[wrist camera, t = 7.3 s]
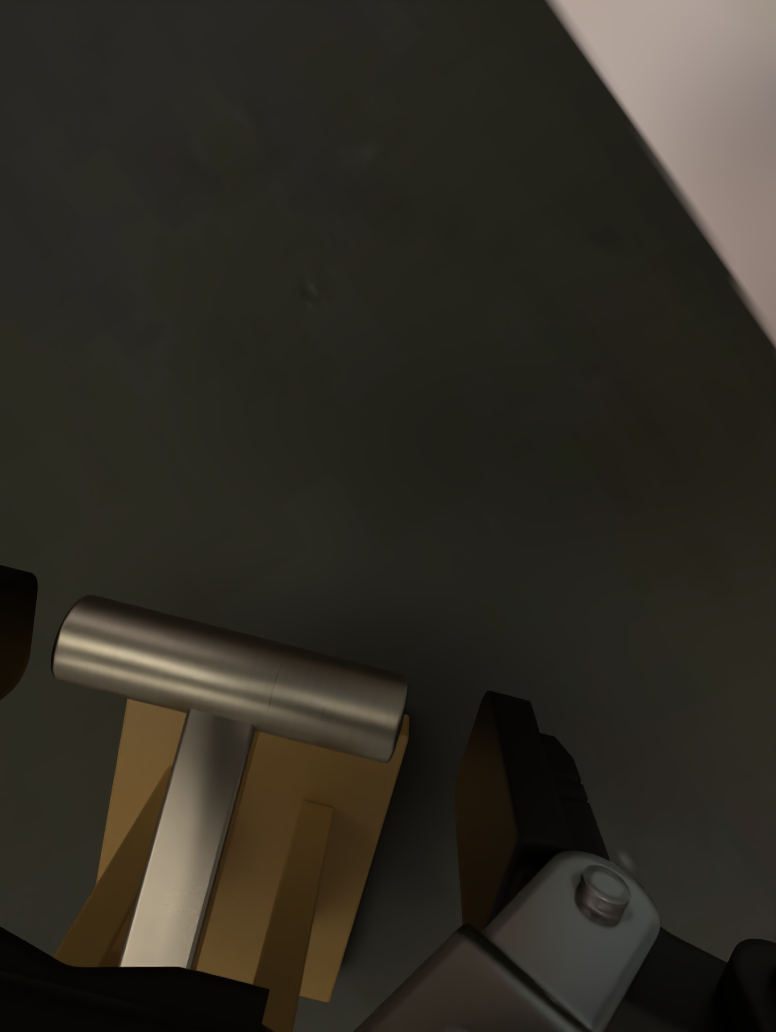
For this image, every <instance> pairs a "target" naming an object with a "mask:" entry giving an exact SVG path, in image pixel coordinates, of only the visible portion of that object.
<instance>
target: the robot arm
mask: <svg viewBox="0 0 776 1032" xmlns="http://www.w3.org/2000/svg"><path fill="white" fill-rule="evenodd" d="M37 590H38V583H37V579H36V576H35V575H34V574H33V573H30V572H26V571H22V570H18V569H14V568H10V567H6V566H2V565H0V700H1V699H2V698H4V697H5V696H6V695H7V694H8V693H10V692H11V691H12V690H13V689H14V688H15V686H16V685H17V684H18V682H19V681H20V679H21V678H22V676H23V674H24V672H25V669H26V667H27V664H28V661H29V657H30V650H31V642H32V633H33V625H34V616H35V608H36V599H37ZM587 799H588V798H587V795H586V792H585V790H584V787H583V785H582V784H581V779H580V776H579V773H578V770H577V767H576V765H575V762H574V759H573V758H572V756H571V755H570V754H569V753H568V752H567V751H566V749H565V748H564V747H563V746H562V745H561V744H560V742H559V741H558V740H557V739H556V738H555V737H554V736H550V735H546V734H542V733H540V732H539V728H538V725H537V721H536V718H535V715H534V711H533V708H532V705H531V702H530V701H528V700H524V699H520V698H516V697H512V696H509V695H505V694H501V693H497V692H493V691H487V692H486V693H485V695H484V696H483V699H482V701H481V704H480V707H479V710H478V713H477V716H476V719H475V722H474V725H473V728H472V731H471V734H470V738H469V741H468V744H467V747H466V750H465V753H464V756H463V759H462V762H461V765H460V769H459V773H458V777H457V783H456V790H455V815H456V830H457V845H458V860H459V875H460V890H461V905H462V919H463V925H462V926H461V927H460V928H458V929H457V930H456V931H455V932H454V933H453V934H452V935H451V936H450V937H449V938H448V939H447V940H446V941H445V942H444V943H443V944H442V945H441V946H440V947H439V948H438V949H437V950H436V951H435V952H434V953H433V954H431V955H430V956H429V957H428V958H427V959H426V960H425V961H424V962H423V963H422V964H421V965H420V966H419V967H418V968H417V969H416V970H415V971H414V972H413V973H412V974H411V975H410V976H409V977H408V978H407V979H406V980H405V981H404V982H403V983H402V984H401V985H400V986H399V987H398V988H397V989H396V990H395V991H394V992H393V993H392V994H391V995H390V996H389V997H388V998H387V999H386V1000H385V1001H384V1002H383V1003H382V1004H381V1005H380V1006H379V1007H378V1008H377V1009H376V1010H375V1011H374V1012H373V1013H372V1014H371V1015H370V1016H369V1017H368V1018H367V1019H366V1020H365V1021H364V1022H363V1023H362V1024H361V1025H360V1026H359V1027H358V1028H357V1029H356V1030H354V1031H353V1032H776V943H774V942H771V941H767V940H762V939H747V940H744V941H741V942H740V943H739V944H738V945H737V946H736V947H735V949H734V951H733V953H732V955H731V957H730V959H729V961H728V963H727V962H725V961H723V960H721V959H719V958H717V957H715V956H713V955H711V954H709V953H707V952H705V951H703V950H701V949H699V948H697V947H695V946H693V945H691V944H689V943H687V942H685V941H683V940H682V939H680V938H678V937H676V936H674V935H672V934H671V933H669V932H667V931H666V930H664V929H663V928H661V927H660V919H659V914H658V911H657V909H656V906H655V904H654V903H653V901H652V899H651V898H650V896H649V895H648V893H647V892H646V891H645V889H644V888H643V887H642V886H641V885H640V884H639V883H638V882H637V881H636V880H635V879H634V878H633V877H632V876H631V875H629V874H628V873H627V872H626V871H624V870H623V869H622V868H620V867H618V866H617V865H615V864H614V863H612V862H610V859H609V856H608V854H607V851H606V848H605V845H604V842H603V840H602V837H601V834H600V831H599V829H598V826H597V823H596V820H595V817H594V815H593V812H592V809H591V806H590V804H589V803H587ZM269 991H270V989H267V988H263V987H259V986H255V985H251V984H247V983H243V982H239V981H235V980H231V979H227V978H223V977H219V976H215V975H211V974H207V973H203V972H198V971H194V970H190V969H186V968H182V967H75V966H70V965H67V964H64V963H62V962H60V961H59V960H57V959H55V958H53V957H52V956H50V955H48V954H47V953H45V952H43V951H41V950H40V949H38V948H36V947H34V946H33V945H31V944H29V943H28V942H26V941H24V940H22V939H21V938H19V937H17V936H16V935H14V934H12V933H10V932H9V931H7V930H5V929H4V928H2V927H0V1032H275V1031H273V1030H272V1029H270V1028H268V1027H267V1026H265V1025H263V1024H262V1021H263V1017H264V1012H265V1008H266V1004H267V1000H268V996H269Z"/></svg>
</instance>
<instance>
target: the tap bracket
mask: <svg viewBox="0 0 776 1032" xmlns="http://www.w3.org/2000/svg"><path fill="white" fill-rule="evenodd" d="M185 718H186V713H182V712H178V711H175V710H171V709H167V708H163V707H159V706H155V705H151V704H147V703H143V702H139V701H135V700H131V699H127V705H126V710H125V716H124V722H123V728H122V734H121V740H120V746H119V752H118V758H117V763H116V769H115V775H114V781H113V787H112V793H111V799H110V805H109V810H108V816H107V822H106V828H105V834H104V840H103V846H102V852H101V857H100V863H99V869H98V875H97V881H96V886H95V888H94V890H93V891H92V893H91V895H90V896H89V898H88V899H87V901H86V903H85V904H84V906H83V908H82V909H81V911H80V913H79V914H78V916H77V918H76V919H75V921H74V923H73V924H72V926H71V928H70V929H69V931H68V933H67V934H66V936H65V938H64V939H63V941H62V942H61V944H60V946H59V947H58V949H57V951H56V952H55V954H54V956H53V958H55V959H57V960H59V961H60V962H62V963H64V964H67V965H70V966H75V967H118V964H119V960H120V956H121V953H122V949H123V945H124V942H125V938H126V934H127V931H128V927H129V923H130V920H131V916H132V912H133V909H134V905H135V901H136V898H137V894H138V890H139V887H140V883H141V879H142V876H143V872H144V868H145V865H146V861H147V857H148V854H149V850H150V846H151V843H152V839H153V835H154V832H155V828H156V824H157V821H158V817H159V813H160V810H161V806H162V802H163V799H164V795H165V791H166V788H167V784H168V780H169V777H170V773H171V769H172V766H173V762H174V758H175V755H176V751H177V747H178V744H179V740H180V736H181V733H182V729H183V725H184V722H185ZM408 739H409V716H408V715H405V714H404V718H403V723H402V727H401V731H400V735H399V738H398V742H397V745H396V748H395V751H394V754H393V756H392V758H391V759H390V761H389V762H388V763H380V762H376V761H372V760H368V759H364V758H360V757H356V756H352V755H348V754H344V753H340V752H336V751H332V750H328V749H324V748H320V747H317V746H313V745H309V744H305V743H301V742H297V741H293V740H289V739H285V738H281V737H277V736H273V735H269V734H265V733H261V732H259V735H258V739H257V743H256V747H255V751H254V754H253V758H252V762H251V766H250V769H249V773H248V777H247V781H246V784H245V788H244V792H243V796H242V799H241V803H240V807H239V811H238V815H237V818H236V822H235V826H234V830H233V833H232V837H231V841H230V845H229V848H228V852H227V856H226V860H225V864H224V867H223V871H222V875H221V879H220V882H219V886H218V890H217V894H216V897H215V901H214V905H213V909H212V912H211V916H210V920H209V924H208V928H207V931H206V935H205V939H204V943H203V946H202V950H201V954H200V958H199V961H198V965H197V969H196V970H198V971H202V972H206V973H210V974H214V975H218V976H222V977H226V978H230V979H234V980H238V981H242V982H246V983H250V984H252V985H255V986H259V987H263V988H267V989H270V991H269V996H268V1000H267V1004H266V1008H265V1012H264V1017H263V1021H262V1024H263V1025H265V1026H267V1027H268V1028H270V1029H272V1030H273V1031H275V1032H293V1027H294V1022H295V1016H296V1011H297V1006H298V1000H299V996H303V997H307V998H311V999H315V1000H319V1001H323V1002H329V1001H330V1000H331V996H332V993H333V990H334V986H335V983H336V980H337V976H338V973H339V970H340V966H341V963H342V960H343V956H344V953H345V950H346V946H347V943H348V940H349V936H350V933H351V930H352V926H353V923H354V920H355V916H356V913H357V910H358V906H359V903H360V900H361V896H362V893H363V890H364V886H365V883H366V879H367V876H368V873H369V869H370V866H371V863H372V859H373V856H374V853H375V849H376V846H377V843H378V839H379V836H380V833H381V829H382V826H383V823H384V819H385V816H386V813H387V809H388V806H389V803H390V799H391V796H392V793H393V789H394V786H395V783H396V779H397V776H398V773H399V769H400V766H401V763H402V759H403V756H404V753H405V749H406V746H407V743H408Z"/></svg>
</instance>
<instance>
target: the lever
mask: <svg viewBox="0 0 776 1032" xmlns="http://www.w3.org/2000/svg"><path fill="white" fill-rule="evenodd" d="M51 670H52V674H53V676H54V677H55V678H56V679H57V680H59V681H61V682H64V683H68V684H72V685H76V686H80V687H84V688H88V689H92V690H96V691H100V692H104V693H108V694H111V695H115V696H119V697H123V698H127V699H131V700H135V701H139V702H143V703H147V704H151V705H155V706H159V707H163V708H167V709H171V710H175V711H178V712H182V713H186V718H185V722H184V725H183V729H182V733H181V736H180V740H179V744H178V747H177V751H176V755H175V758H174V762H173V766H172V769H171V773H170V777H169V780H168V784H167V788H166V791H165V795H164V799H163V802H162V806H161V810H160V813H159V817H158V821H157V824H156V828H155V832H154V835H153V839H152V843H151V846H150V850H149V854H148V857H147V861H146V865H145V868H144V872H143V876H142V879H141V883H140V887H139V890H138V894H137V898H136V901H135V905H134V909H133V912H132V916H131V920H130V923H129V927H128V931H127V934H126V938H125V942H124V945H123V949H122V953H121V956H120V960H119V964H118V967H182V968H186V969H190V970H194V971H196V969H197V965H198V961H199V958H200V954H201V950H202V946H203V943H204V939H205V935H206V931H207V928H208V924H209V920H210V916H211V912H212V909H213V905H214V901H215V897H216V894H217V890H218V886H219V882H220V879H221V875H222V871H223V867H224V864H225V860H226V856H227V852H228V848H229V845H230V841H231V837H232V833H233V830H234V826H235V822H236V818H237V815H238V811H239V807H240V803H241V799H242V796H243V792H244V788H245V784H246V781H247V777H248V773H249V769H250V766H251V762H252V758H253V754H254V751H255V747H256V743H257V739H258V735H259V732H261V733H265V734H269V735H273V736H277V737H281V738H285V739H289V740H293V741H297V742H301V743H305V744H309V745H313V746H317V747H320V748H324V749H328V750H332V751H336V752H340V753H344V754H348V755H352V756H356V757H360V758H364V759H368V760H372V761H376V762H380V763H388V762H389V761H390V759H391V758H392V756H393V754H394V751H395V748H396V745H397V742H398V738H399V735H400V731H401V727H402V723H403V718H404V714H405V709H406V703H407V697H408V689H409V682H408V677H407V676H405V675H404V674H401V673H397V672H393V671H389V670H385V669H381V668H377V667H373V666H369V665H366V664H362V663H358V662H354V661H350V660H346V659H342V658H338V657H334V656H330V655H326V654H323V653H319V652H315V651H311V650H307V649H303V648H299V647H295V646H291V645H287V644H283V643H280V642H276V641H272V640H268V639H264V638H260V637H256V636H252V635H248V634H244V633H240V632H237V631H233V630H229V629H225V628H221V627H217V626H213V625H209V624H205V623H201V622H198V621H194V620H190V619H186V618H182V617H178V616H174V615H170V614H166V613H162V612H158V611H155V610H151V609H147V608H143V607H139V606H135V605H131V604H127V603H123V602H119V601H115V600H112V599H108V598H104V597H100V596H96V595H86V596H83V597H81V598H80V599H79V600H78V601H77V602H76V603H75V604H74V605H73V606H72V607H71V609H70V610H69V612H68V613H67V615H66V616H65V618H64V620H63V622H62V624H61V626H60V628H59V631H58V633H57V636H56V639H55V642H54V646H53V651H52V657H51Z"/></svg>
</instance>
